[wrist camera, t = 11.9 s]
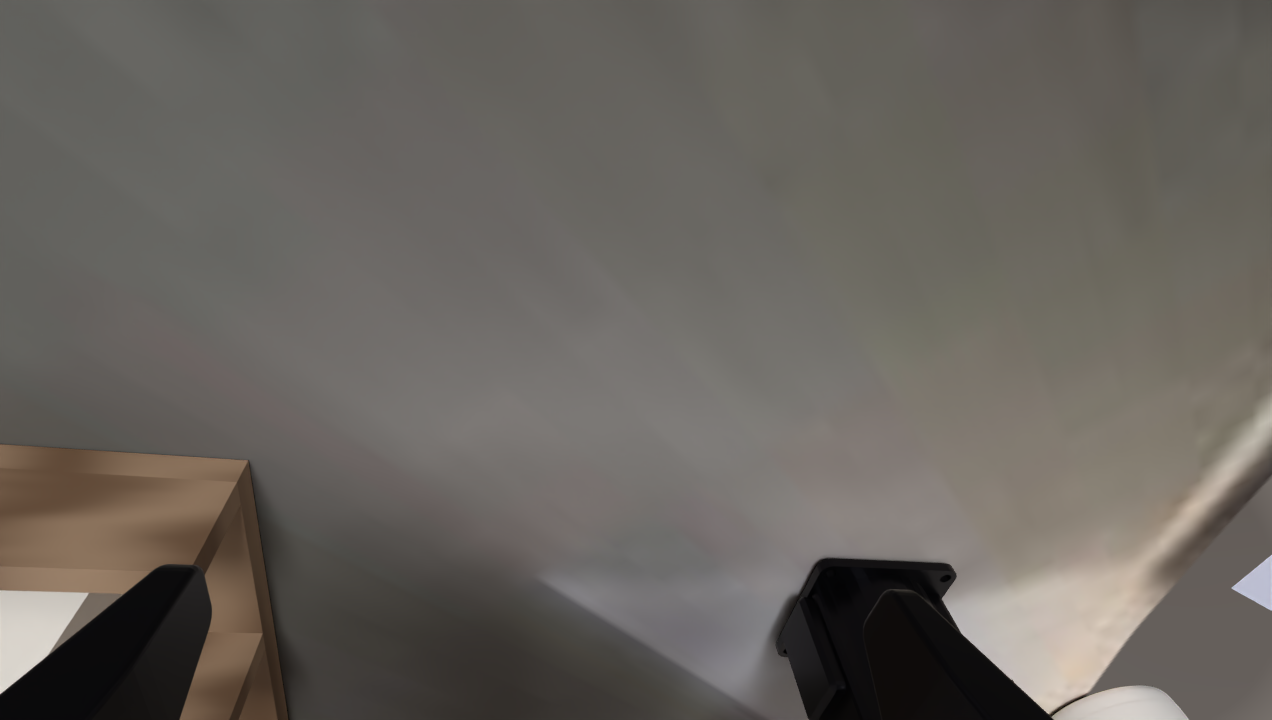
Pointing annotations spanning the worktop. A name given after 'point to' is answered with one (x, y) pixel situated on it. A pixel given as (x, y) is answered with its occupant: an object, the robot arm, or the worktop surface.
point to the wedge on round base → (1258, 584)
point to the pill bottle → (1123, 705)
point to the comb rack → (150, 553)
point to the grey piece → (41, 626)
